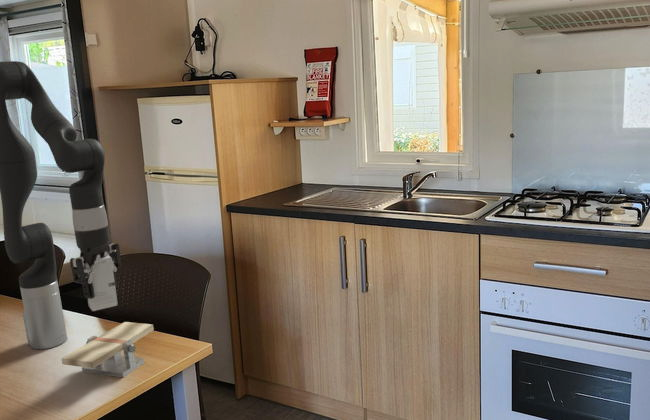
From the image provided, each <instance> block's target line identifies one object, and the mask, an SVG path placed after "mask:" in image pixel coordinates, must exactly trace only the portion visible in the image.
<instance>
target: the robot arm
mask: <svg viewBox="0 0 650 420" xmlns="http://www.w3.org/2000/svg"><path fill="white" fill-rule="evenodd" d="M21 99H25V100H26V101H28V102H29V103H30V104H31V109H30V111H31V112H30V121H31V125H32V126H33V129H34V130H35V131H36V132H37V135H39V136H40V137H41V138H42V139H43V141H44V142H45V143H46V144H47V145H48V147H49V149H50V152H51V154H52V157H53V159H54V162H55V165H56V166H57V167H58V168H59V169H60V170H62V171H63V172H65V173H68V174H72V173H73V174H74V173H78V172H83V175H82V178H80V179H79V180H78V181H75V182H73V183H71V185H70V186H69V187H68V192H69V199H70V203H71V204H70V205H71V213H72V214H71V215H72V224H73V225H72V226H73V231H74V236H75V243H76V247H77V248H78V249H79V251H80V254H79V256H78V257H75V258H74V257H71V258H70V260H69V263H70V268H71V274H72V278H73V279H72V280H73V282H74V284H81V287H82V290H83V296H84V297H85V298H86V299H87V300H88V299H92V298H94V297H95V295H94V289H93V283H91V282H92V279H93V275H94V274H95V273H96V270H97V266H98V263H99V261H100V258H101V257H107V256H110V257H111V259H112V266H113V274H114V281H115V288H116V287H118V279H117V271H118V268H121V267H122V260H121V259H122V257H121V252H120V245H119V243H111V234H110V228H109V222H108V216H107V215H108V214H107V211H106V207H105V203H104V198H103V190H102V189H103V188H102V187H103V185H102V184H103V176H104V168H105V160H106V156H105V151H104V148H103V145H101V144H102V143H100V141H98V140H97V139H94V138H85V139H78V140H77V137H78V133H77V130H76V128H75V127H74V125H73V124H72V123H71V122H70V120H68V119H67V118H66V117H65V116H64V115H63V114H62V112H60V110H59V109H58V108H57V106H56V105H55V104H54V103H53V101H52V99H51V98H50V97H49V95H48V93H47V91H46V90H45V89H44V86H43V85H42V83H41V82H40V81H39V78H38V77H37V75H36V74H35V73H34V71H33V70H32V69H31V68H30V67H29V66H28V65H27V64H26V63H25V62H24V61H23V62H22V61H18V60H14V61H13V60H12V61H11V60H10V61H9V60H8V61H6V60H5V61H0V200H1V205H2V206H1V207H2V223H3V238H4V239H3V240H4V247H5V251H6V254H7V257H8V258H9V260H10V261H11V262H12V263H14V264H22V263H24V262H25V263H26V262H30V261H33V260H35V261H34V262H33V264H32V265H31V266H30V267H29V268H28V269H26V270H25V271H23V272H22V273H21V274H20V275H19V277H18V283H19V289H20V295H21V300H22V304H23V310H24V311H23V312H22V319H23V323H24V329H25V333H26V334H25V335H26V339H27V345H28V346H30V347H31V348H32V349H35V350H45V349H46V350H47V349H51V348H54V347H57V346H60V345H62V344H64V343H65V342H66V341H67V340H68V334H67V333H68V332H67V329H66V324H65V323H66V322H65V316H64V310H63V306H62V300H61V296H60V295H61V293H60V289H59V283H58V277H57V272H58V271H57V269H58V267H57V262H56V254H55V245H54V239H53V234H52V232H51V231H52V230H50V227H49V226H48V225H47V224H46V223H44V222H36V223H32V224H31V223H30V224H27V225H22V223H23V214H24V213H23V212H24V209H25V205H26V203H27V202H28V199H29V197H30V195H31V193H32V191H33V190H34V187H35V185H36V182H37V178H38V168H37V167H38V166H37V162H36V154H35V150H34V148H33V146H32V145H31V143H30V142H29V141H28V140H27V138H26V137H25V136H24V135H23V134H22V133H21V131H20V130H19V129H18V128H17V127H16V125H15V124H14V123H13V121H12V118H11V117H10V114H9V111H8V108H7V102H6V101H8V100H9V101H10V100H11V101H12V100H21ZM86 262H87V263H88V264H89V266H90V267H91V269H90V270H86V268H85V265H86V264H85V263H86ZM87 273H88V277H87V278H86V276H87Z"/></svg>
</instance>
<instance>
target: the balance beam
mask: <svg viewBox="0 0 650 420" xmlns="http://www.w3.org/2000/svg"><path fill="white" fill-rule="evenodd" d="M154 329H155V328H154V324H150V323H138V322H130V321H123V322H122V323H121V324H118V325H117V326H115V327H113V328H112V329H109V330H108V331H106V332H105V333H103V334H101V335H100V336H97V338H95V339H93V340H92V341H91V342H89V343H87V344H83V345H82V346H80V347H79V348H76V349H75V350H73V351H71V352H70V353H68V354H66V355H64V356H63V357H61V364H62V365H65V366H74V367H80V368H83V367H86V368H95V367H96V366H98V365H99V364H101V363H103V362H104V361H106V360H107V359H109V358H110V357H112V356H114V355H115V354H117V353H118V352H120V351H121V352H122V351H124V348H123V343H124V342H125V341H127V340H132V342H133V344H134V343H136V342H138V341H139V340H140V339H142V338H143V337H146V335H149V334H150V333H151V332H153V331H154Z"/></svg>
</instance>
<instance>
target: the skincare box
mask: <svg viewBox="0 0 650 420" xmlns="http://www.w3.org/2000/svg"><path fill="white" fill-rule="evenodd" d="M85 264H86V265H85V268H86V270H90V269H91V267H90V266H89V264H88V263H87V262H86V263H85ZM87 277H88V273H87V276H86V278H87ZM91 283H93V289H94V295H95V297H94V298H92V299H88V298H87V304H88V307H89V309H90V310H91V311H92V312H95V311H100V310H103V309H104V310H105V309H108V308H112V307H116V306H118V298H117V297H118V296H117V290H116V287H115V281H114V274H113V266H112V259H111V257H110V256H107V257H101V258H100V261H99V263H98V266H97V270H96V273H95V274H94V275H93V279H92V282H91Z"/></svg>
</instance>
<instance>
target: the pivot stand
mask: <svg viewBox="0 0 650 420" xmlns="http://www.w3.org/2000/svg"><path fill="white" fill-rule="evenodd" d="M97 337H98V336H97V335H92V336H90V337H89V338H87V341H86V344H87V343H89V342H91V341H92V340H93V339H95V338H97ZM123 348H124V349H123V353H124V354H123V355H122V350H121V351H120V352H118V353H117V354H115V355H114V356H112V357H110V358H109V359H107V360H106V361H104V362H103V363H101V364H99V365H98V366H96V367H95V368H86V367H81V370H82V372H83V373H91V374H95V375H96V374H97V375H104V376H111V377H118V378H125V377H126V376H127V375H129V374H130V373H132V372H133V371H135V370H136V369H137V368H139V367H140V366H142V365H144V363H145V362H146V360H145V358H143V357H136V356H135V352H136V348H137V346H136V345H135V344H134V343H133V342H132V340H127V341H125V342H124V343H123Z"/></svg>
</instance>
